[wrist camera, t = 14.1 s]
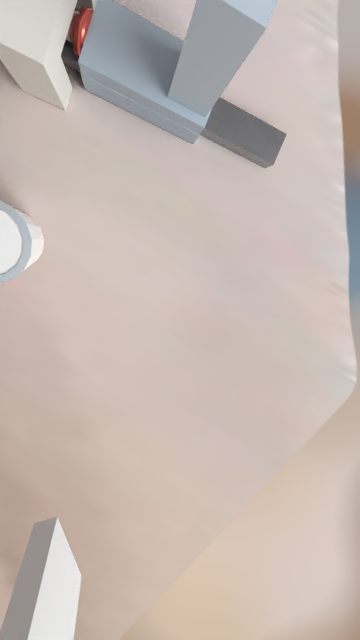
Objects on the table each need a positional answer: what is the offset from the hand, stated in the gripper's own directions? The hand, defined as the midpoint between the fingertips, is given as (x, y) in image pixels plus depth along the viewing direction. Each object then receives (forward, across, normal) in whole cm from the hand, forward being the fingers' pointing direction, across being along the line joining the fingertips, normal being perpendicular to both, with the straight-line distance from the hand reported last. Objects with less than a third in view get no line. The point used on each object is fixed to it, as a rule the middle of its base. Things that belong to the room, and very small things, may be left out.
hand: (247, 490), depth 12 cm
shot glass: (+27, -13, +11) cm, 32 cm away
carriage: (+27, +4, +22) cm, 35 cm away
